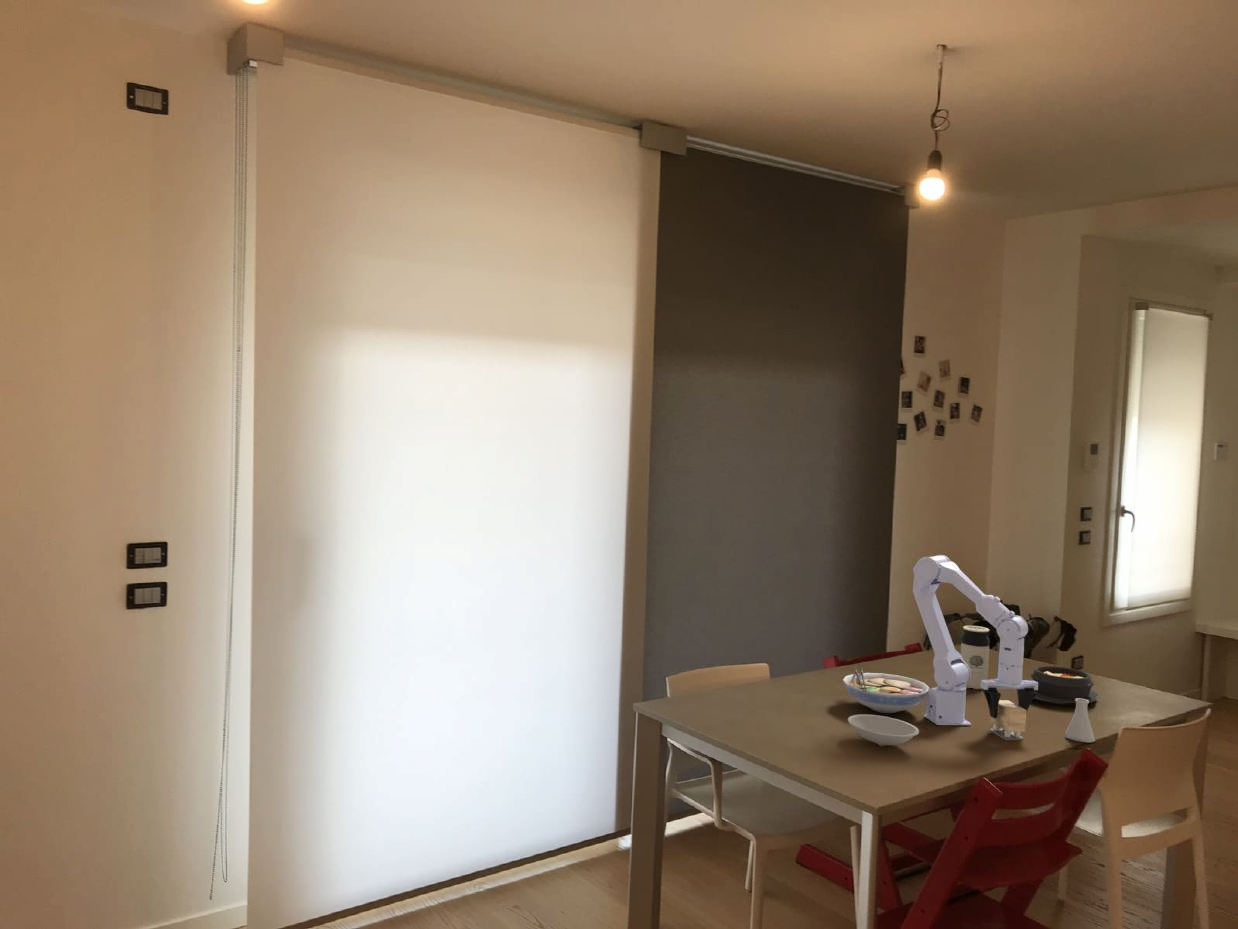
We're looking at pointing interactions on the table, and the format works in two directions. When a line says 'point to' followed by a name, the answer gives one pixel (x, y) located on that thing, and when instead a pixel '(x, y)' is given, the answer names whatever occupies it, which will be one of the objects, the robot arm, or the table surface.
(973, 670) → the travel mug
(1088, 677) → the casserole
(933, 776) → the table surface
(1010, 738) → the peg stand
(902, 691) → the ramen bowl
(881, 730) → the dish
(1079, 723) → the flask
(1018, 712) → the wooden block
